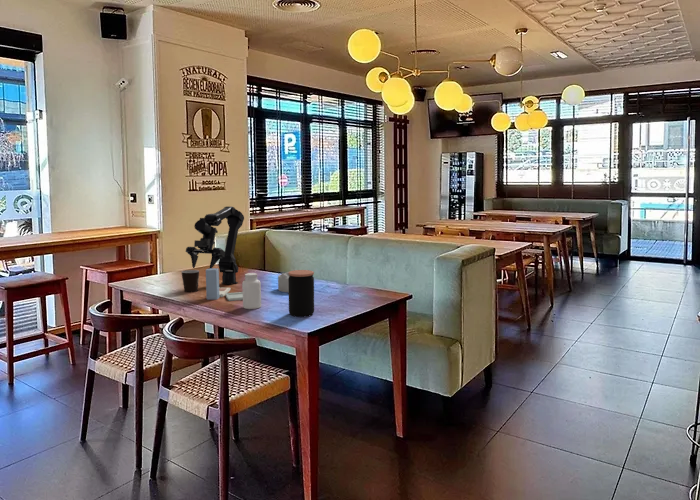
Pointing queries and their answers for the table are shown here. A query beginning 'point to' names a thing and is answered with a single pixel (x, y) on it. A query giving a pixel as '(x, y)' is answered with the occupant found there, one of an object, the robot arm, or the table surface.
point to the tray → (234, 296)
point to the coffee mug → (190, 280)
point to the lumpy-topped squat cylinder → (283, 282)
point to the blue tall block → (212, 283)
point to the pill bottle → (251, 291)
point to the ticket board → (223, 291)
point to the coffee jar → (301, 293)
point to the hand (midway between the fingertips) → (201, 268)
